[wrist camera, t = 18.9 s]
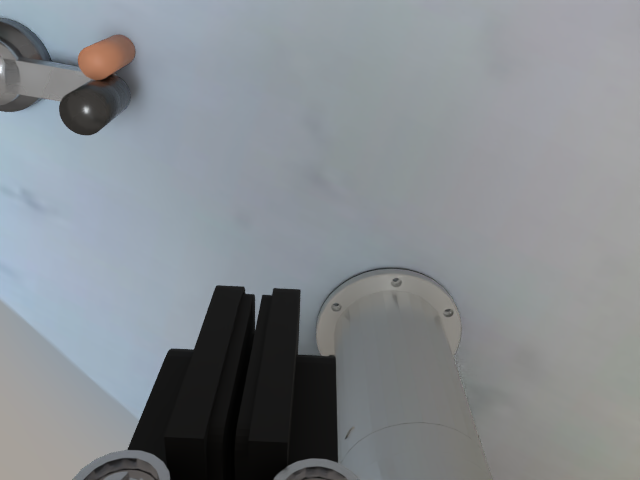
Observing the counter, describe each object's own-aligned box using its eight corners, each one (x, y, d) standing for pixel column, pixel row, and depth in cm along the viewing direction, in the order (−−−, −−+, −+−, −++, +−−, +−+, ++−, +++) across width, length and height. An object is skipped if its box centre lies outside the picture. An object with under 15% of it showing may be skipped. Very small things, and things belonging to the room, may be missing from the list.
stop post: (136, 65, 39) (112, 81, 35) (107, 63, 39) (80, 79, 35) (133, 35, 38) (109, 47, 34) (104, 33, 38) (75, 45, 34)
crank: (-35, 95, 38) (-95, 120, 33) (-43, 28, 36) (-108, 43, 31) (135, 123, 39) (104, 152, 34) (136, 59, 37) (104, 79, 32)
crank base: (58, 108, 41) (50, 114, 39) (-25, 103, 40) (-37, 109, 39) (45, 20, 38) (35, 23, 36) (-46, 14, 38) (-59, 17, 36)
